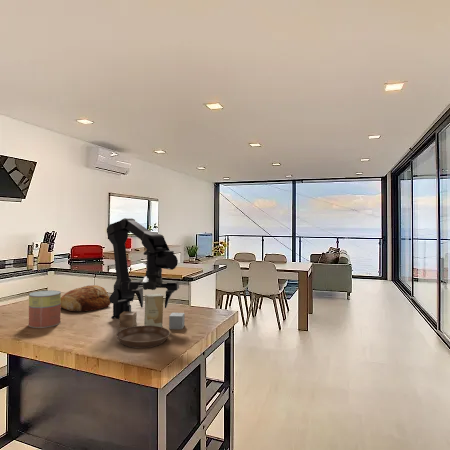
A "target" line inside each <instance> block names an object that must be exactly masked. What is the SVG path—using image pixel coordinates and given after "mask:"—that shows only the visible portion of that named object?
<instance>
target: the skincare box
mask: <svg viewBox="0 0 450 450" xmlns="http://www.w3.org/2000/svg"><path fill="white" fill-rule="evenodd" d="M144 295H145V296H144V320H143V321H144V324H143V326H158V327H163V315H164V295H163V294H162V293H151V294H144Z"/></svg>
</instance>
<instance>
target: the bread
mask: <svg viewBox="0 0 450 450" xmlns="http://www.w3.org/2000/svg"><path fill="white" fill-rule="evenodd" d="M109 297H110V296H109V294H108V292H107V289H105V288H104V287H103V286H101V285H98V284H96V285H95V284H93V285H86V286H85V285H84V286H80V287H78V288H74V289H72V290H69V291H67V292H65V293H64V294H63V295H61V309H64V310H67V311H70V312H91V311H97V310H101V309H103V308H107V307H109V306H110V305H111V304H112V303H110V300H109Z"/></svg>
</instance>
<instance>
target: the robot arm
mask: <svg viewBox="0 0 450 450" xmlns="http://www.w3.org/2000/svg"><path fill="white" fill-rule="evenodd" d="M129 233H131V234H132V235H134V236H135V237H136V238H138V239H139V240H140V242H141V245H142V246H143V247H144V248H145V249H146V250H145V251H144V252H143V253H142V254H143V255H144V256H146V270H145V276H144V277H143V280H138V279H133V280H132V279H131V278H130V276H129V267H128V256H127V250H126V243H127V239H128V237H129ZM106 234H107V237H108V240H109V242H110V243H111V245H112V248H113V256H114V265H115V274H116V276H115V277H116V280H115V281H114V282H115V283H114V284H113V292H112V293H111V295H110V296H109V300H110V303H111V304H112V316H111V319H120V314H121V313H123V312H124V311H125V312H132V305H131V302H134V299H135V296H136V297H137V300H138V302H139V305H140V308H141V309H143V307H144V291H145V290H151V291H155V290H156V289H166V291H165V300H164V308H165V309H167V307H168V304H169V301H170V299H171V296H172V294H173V293H175V292H177V291H178V290H179V289H180V282H179V281H178V280H168V282H163V276H162V274H163V270H164V269H165V270H170V271H171V270H175V269H176V268H177V266H178V262H179V260H178V258H177V256H176V255H175V254H174V253H175V252H174V251H173V250H170V247H169V246H168V244H167V242H166V240H165V237H164V235H163V234H160V233H158V232H155V231H154V232H153V231H150V230H149V229H148V228H146V227H144V226H143V225H142V224H140V223H139V222H138V221H136V219H134V218H128V217H127V218H126V217H125V218H122V219H120V220H119V221H115V222H113V223H110V224H109V225H108V226H107V228H106Z"/></svg>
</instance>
